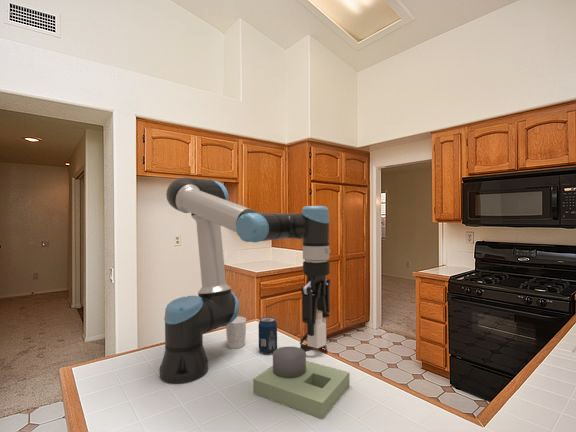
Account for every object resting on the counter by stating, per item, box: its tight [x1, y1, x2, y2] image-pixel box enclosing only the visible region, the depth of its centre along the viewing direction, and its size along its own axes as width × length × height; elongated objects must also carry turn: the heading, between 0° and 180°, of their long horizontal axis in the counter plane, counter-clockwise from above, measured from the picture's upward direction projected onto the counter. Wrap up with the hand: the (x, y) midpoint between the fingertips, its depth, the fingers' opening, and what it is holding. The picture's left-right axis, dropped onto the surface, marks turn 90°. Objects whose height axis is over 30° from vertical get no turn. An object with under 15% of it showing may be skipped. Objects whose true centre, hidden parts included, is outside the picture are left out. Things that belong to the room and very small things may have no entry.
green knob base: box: [252, 346, 350, 420], centre depth 92 cm, size 22×18×9 cm
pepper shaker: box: [315, 310, 327, 349], centre depth 89 cm, size 4×4×10 cm
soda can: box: [258, 316, 278, 355], centre depth 118 cm, size 7×7×12 cm
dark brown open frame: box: [299, 332, 329, 354], centre depth 118 cm, size 12×10×8 cm
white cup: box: [225, 316, 247, 349], centre depth 124 cm, size 8×8×10 cm
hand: (316, 342), depth 89 cm, fingers closed on pepper shaker, 5 cm apart
